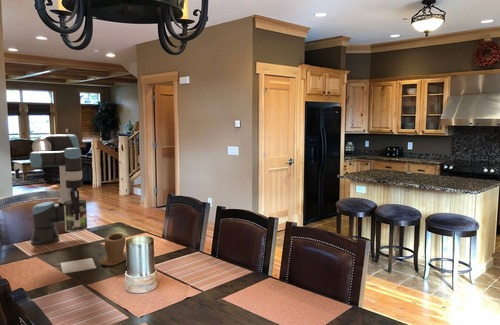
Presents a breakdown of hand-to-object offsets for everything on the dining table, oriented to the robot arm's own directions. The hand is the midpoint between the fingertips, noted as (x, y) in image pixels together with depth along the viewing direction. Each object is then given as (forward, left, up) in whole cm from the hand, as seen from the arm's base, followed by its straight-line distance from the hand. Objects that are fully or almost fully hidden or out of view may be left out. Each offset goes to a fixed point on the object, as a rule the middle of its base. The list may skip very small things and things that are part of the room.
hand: (76, 223), depth 195 cm
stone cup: (+4, +18, -22) cm, 29 cm away
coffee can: (0, 0, -3) cm, 3 cm away
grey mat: (0, 0, -22) cm, 22 cm away
